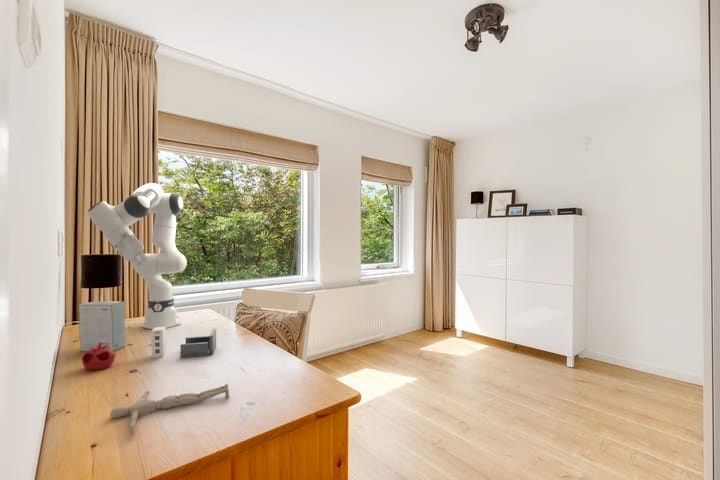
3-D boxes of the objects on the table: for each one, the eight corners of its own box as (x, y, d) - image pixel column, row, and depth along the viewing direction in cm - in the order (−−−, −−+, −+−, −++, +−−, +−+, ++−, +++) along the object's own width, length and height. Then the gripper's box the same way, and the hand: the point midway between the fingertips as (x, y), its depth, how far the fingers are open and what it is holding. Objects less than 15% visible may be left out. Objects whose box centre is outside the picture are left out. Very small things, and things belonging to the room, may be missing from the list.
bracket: (186, 348, 151) (186, 330, 151) (216, 346, 154) (216, 328, 154) (180, 357, 140) (180, 337, 140) (212, 354, 143) (212, 335, 143)
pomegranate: (90, 364, 134) (89, 340, 134) (120, 361, 137) (119, 337, 137) (76, 374, 125) (75, 348, 125) (108, 370, 127) (108, 345, 127)
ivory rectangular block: (155, 353, 145) (155, 327, 145) (166, 352, 146) (165, 326, 146) (151, 358, 140) (151, 330, 140) (163, 357, 141) (162, 329, 141)
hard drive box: (126, 346, 155) (125, 301, 154) (112, 352, 147) (111, 305, 147) (94, 345, 156) (93, 300, 156) (78, 351, 149) (77, 304, 148)
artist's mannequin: (226, 381, 120) (122, 402, 108) (225, 369, 120) (121, 388, 108) (232, 418, 94) (96, 451, 82) (231, 403, 94) (95, 433, 82)
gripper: (133, 227, 141) (156, 255, 144) (124, 238, 156) (145, 264, 159) (117, 235, 137) (141, 263, 140) (110, 246, 151) (131, 272, 155)
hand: (143, 264), depth 149 cm, fingers open, 8 cm apart
